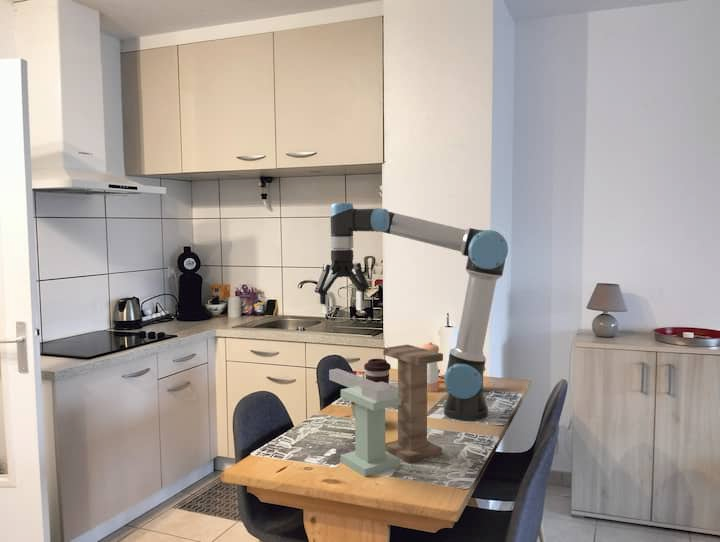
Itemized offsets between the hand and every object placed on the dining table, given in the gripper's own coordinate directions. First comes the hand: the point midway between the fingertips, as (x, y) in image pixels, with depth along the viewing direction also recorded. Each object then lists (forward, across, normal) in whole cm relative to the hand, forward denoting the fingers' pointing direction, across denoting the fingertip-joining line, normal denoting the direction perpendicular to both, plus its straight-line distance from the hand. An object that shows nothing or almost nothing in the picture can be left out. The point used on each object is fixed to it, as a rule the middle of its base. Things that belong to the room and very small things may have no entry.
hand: (342, 312), depth 205 cm
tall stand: (+37, 0, +38) cm, 53 cm away
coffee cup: (+37, -22, -11) cm, 45 cm away
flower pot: (+37, -3, +9) cm, 38 cm away
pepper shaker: (+37, -47, -10) cm, 61 cm away
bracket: (+17, +15, +32) cm, 39 cm away
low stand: (+37, +15, +38) cm, 55 cm away
